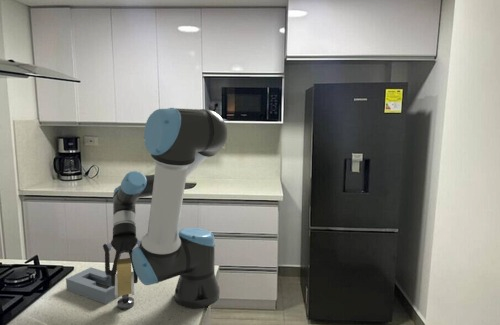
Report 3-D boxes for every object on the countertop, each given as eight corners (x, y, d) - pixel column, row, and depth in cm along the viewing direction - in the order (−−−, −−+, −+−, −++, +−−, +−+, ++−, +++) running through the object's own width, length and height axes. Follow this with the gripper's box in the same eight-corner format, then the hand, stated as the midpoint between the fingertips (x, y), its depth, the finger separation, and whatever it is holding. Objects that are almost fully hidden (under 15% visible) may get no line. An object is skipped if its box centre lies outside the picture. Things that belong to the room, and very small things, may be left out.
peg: (134, 300, 110) (132, 257, 108) (134, 308, 105) (132, 263, 103) (117, 302, 108) (115, 259, 106) (117, 311, 103) (115, 265, 101)
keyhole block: (129, 290, 116) (129, 278, 115) (106, 304, 107) (105, 292, 106) (91, 277, 124) (90, 267, 124) (66, 290, 115) (65, 278, 115)
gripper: (149, 229, 121) (153, 294, 108) (98, 233, 115) (95, 303, 102) (150, 219, 115) (153, 286, 102) (96, 223, 110) (92, 295, 97)
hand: (124, 294), depth 102 cm, fingers closed on peg, 4 cm apart
